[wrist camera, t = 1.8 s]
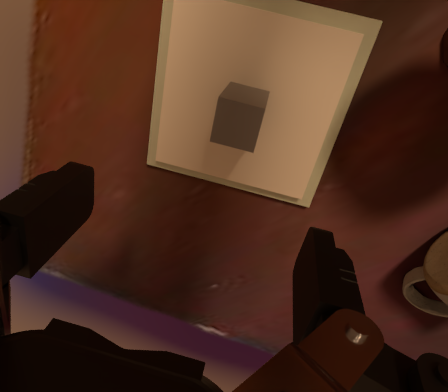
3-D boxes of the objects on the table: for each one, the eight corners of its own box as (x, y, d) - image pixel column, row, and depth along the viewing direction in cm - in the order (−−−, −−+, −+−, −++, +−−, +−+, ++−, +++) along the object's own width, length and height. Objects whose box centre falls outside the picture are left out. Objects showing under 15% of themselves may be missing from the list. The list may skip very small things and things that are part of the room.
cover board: (178, -11, 24) (148, -16, 19) (361, 33, 23) (381, 41, 18) (158, 156, 30) (132, 186, 25) (301, 195, 30) (303, 233, 25)
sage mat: (169, -30, 24) (166, -31, 23) (380, 20, 23) (382, 21, 23) (149, 161, 31) (146, 164, 31) (308, 204, 31) (308, 207, 30)
